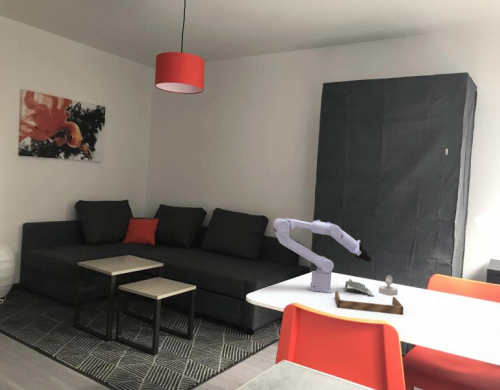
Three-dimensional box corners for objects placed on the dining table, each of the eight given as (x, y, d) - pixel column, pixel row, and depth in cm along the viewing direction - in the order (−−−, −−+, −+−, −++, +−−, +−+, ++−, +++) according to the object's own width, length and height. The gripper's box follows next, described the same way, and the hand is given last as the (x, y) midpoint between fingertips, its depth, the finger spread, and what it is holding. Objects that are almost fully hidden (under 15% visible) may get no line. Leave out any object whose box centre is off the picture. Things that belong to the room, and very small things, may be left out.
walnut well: (337, 307, 172) (338, 300, 171) (334, 297, 187) (335, 291, 187) (402, 314, 168) (403, 307, 168) (394, 303, 184) (395, 297, 184)
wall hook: (379, 274, 200) (380, 271, 210) (378, 294, 200) (379, 289, 210) (398, 276, 197) (398, 273, 207) (397, 296, 198) (397, 292, 207)
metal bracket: (348, 282, 196) (344, 276, 211) (344, 294, 196) (340, 286, 211) (378, 294, 194) (371, 286, 209) (373, 305, 195) (367, 297, 210)
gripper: (355, 240, 193) (377, 257, 195) (349, 229, 207) (369, 245, 209) (345, 251, 195) (367, 268, 196) (339, 240, 209) (360, 256, 210)
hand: (368, 257), depth 203 cm, fingers open, 7 cm apart
